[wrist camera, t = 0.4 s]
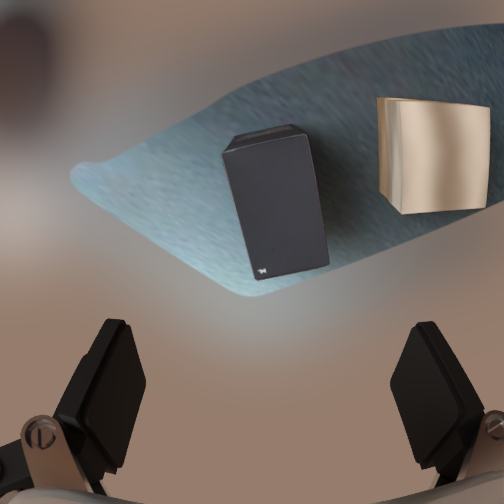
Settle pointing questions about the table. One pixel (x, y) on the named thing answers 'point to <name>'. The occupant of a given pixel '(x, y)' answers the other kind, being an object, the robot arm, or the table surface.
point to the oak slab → (384, 145)
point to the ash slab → (437, 155)
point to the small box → (277, 201)
